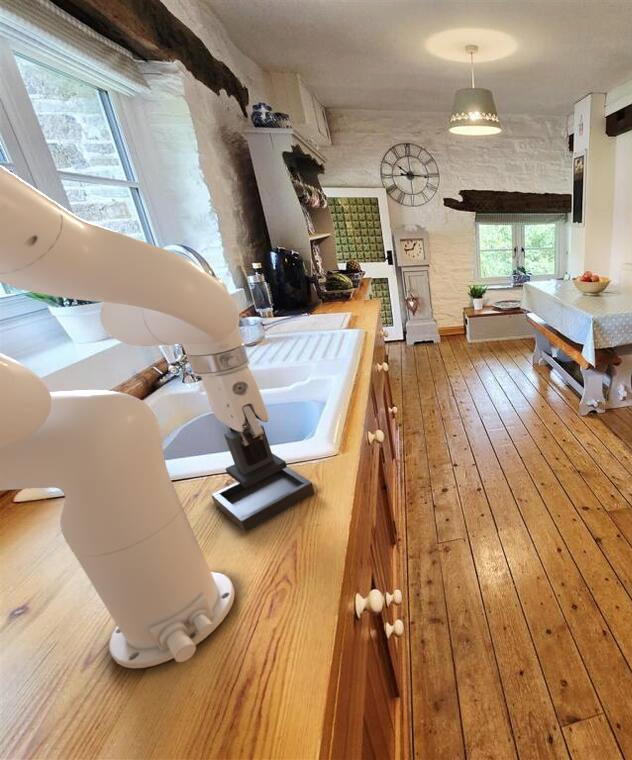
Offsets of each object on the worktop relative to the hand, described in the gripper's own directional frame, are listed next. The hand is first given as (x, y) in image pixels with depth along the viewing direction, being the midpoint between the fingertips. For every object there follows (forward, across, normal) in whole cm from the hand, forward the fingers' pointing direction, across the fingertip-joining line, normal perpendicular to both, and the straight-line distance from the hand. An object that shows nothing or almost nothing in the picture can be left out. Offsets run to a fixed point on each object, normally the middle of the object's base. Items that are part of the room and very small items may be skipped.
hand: (252, 457), depth 71 cm
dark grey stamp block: (+3, 0, 0) cm, 3 cm away
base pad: (+9, 0, 0) cm, 9 cm away
